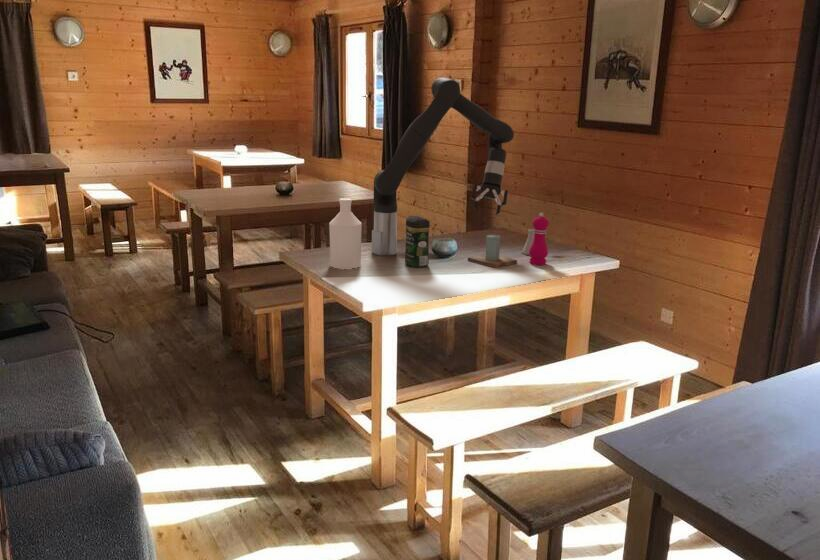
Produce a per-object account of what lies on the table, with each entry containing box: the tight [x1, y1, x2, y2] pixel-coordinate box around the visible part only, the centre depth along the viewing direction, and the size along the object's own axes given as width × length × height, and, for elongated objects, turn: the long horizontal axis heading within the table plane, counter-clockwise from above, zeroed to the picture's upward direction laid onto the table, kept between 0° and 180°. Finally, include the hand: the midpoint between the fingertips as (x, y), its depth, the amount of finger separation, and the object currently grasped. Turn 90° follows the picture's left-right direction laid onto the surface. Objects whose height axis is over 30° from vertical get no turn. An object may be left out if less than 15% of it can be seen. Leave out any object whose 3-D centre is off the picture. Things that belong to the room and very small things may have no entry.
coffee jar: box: [404, 215, 431, 268], centre depth 254 cm, size 10×8×19 cm
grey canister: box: [485, 234, 501, 260], centre depth 263 cm, size 5×5×9 cm
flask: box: [521, 228, 534, 256], centre depth 279 cm, size 7×7×10 cm
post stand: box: [467, 253, 518, 268], centre depth 264 cm, size 13×14×6 cm
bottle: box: [328, 197, 363, 270], centre depth 249 cm, size 12×12×25 cm
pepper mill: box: [529, 212, 550, 266], centre depth 261 cm, size 7×7×20 cm
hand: (486, 212), depth 274 cm, fingers open, 8 cm apart
